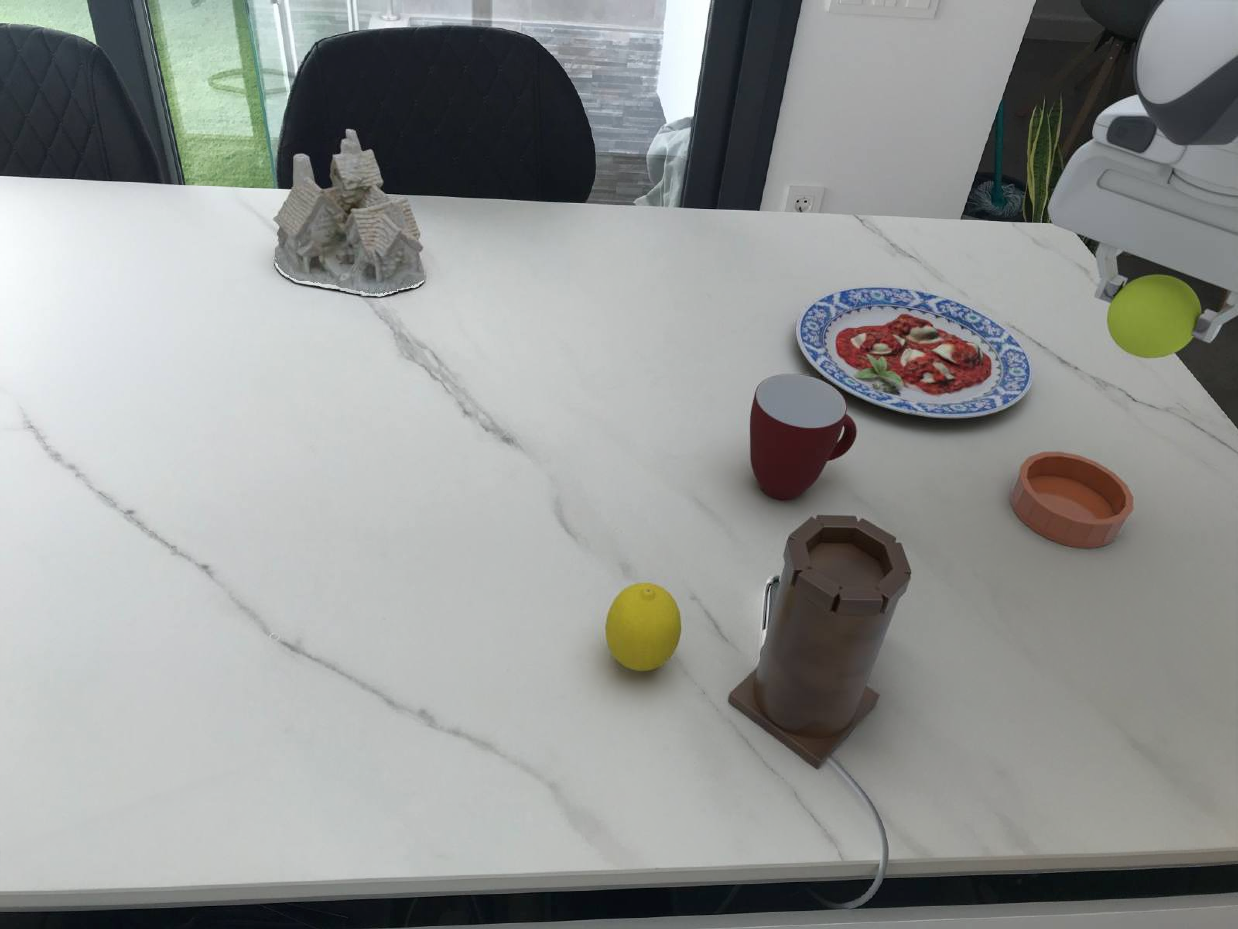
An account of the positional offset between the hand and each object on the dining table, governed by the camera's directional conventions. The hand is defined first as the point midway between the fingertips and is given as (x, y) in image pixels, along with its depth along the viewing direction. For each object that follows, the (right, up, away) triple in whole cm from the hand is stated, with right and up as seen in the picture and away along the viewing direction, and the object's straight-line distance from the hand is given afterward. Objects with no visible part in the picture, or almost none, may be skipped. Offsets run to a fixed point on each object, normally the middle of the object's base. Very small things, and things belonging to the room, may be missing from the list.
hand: (1152, 316), depth 76 cm
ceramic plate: (-9, 0, +34) cm, 35 cm away
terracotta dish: (0, -16, +16) cm, 22 cm away
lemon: (-40, -27, -1) cm, 48 cm away
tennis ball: (0, 0, 0) cm, 0 cm away
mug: (-25, -13, +16) cm, 33 cm away
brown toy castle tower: (-28, -29, -3) cm, 40 cm away
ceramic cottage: (-73, +12, +41) cm, 84 cm away
